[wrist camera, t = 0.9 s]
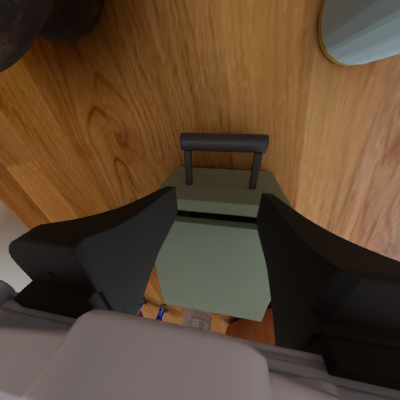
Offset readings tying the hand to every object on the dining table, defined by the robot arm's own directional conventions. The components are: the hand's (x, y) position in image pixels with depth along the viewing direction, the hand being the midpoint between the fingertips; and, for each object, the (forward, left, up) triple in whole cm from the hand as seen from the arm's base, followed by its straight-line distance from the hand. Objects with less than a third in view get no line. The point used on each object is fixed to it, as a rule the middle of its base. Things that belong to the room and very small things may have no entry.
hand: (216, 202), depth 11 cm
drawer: (0, -5, -9) cm, 11 cm away
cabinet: (0, -10, -10) cm, 14 cm away
